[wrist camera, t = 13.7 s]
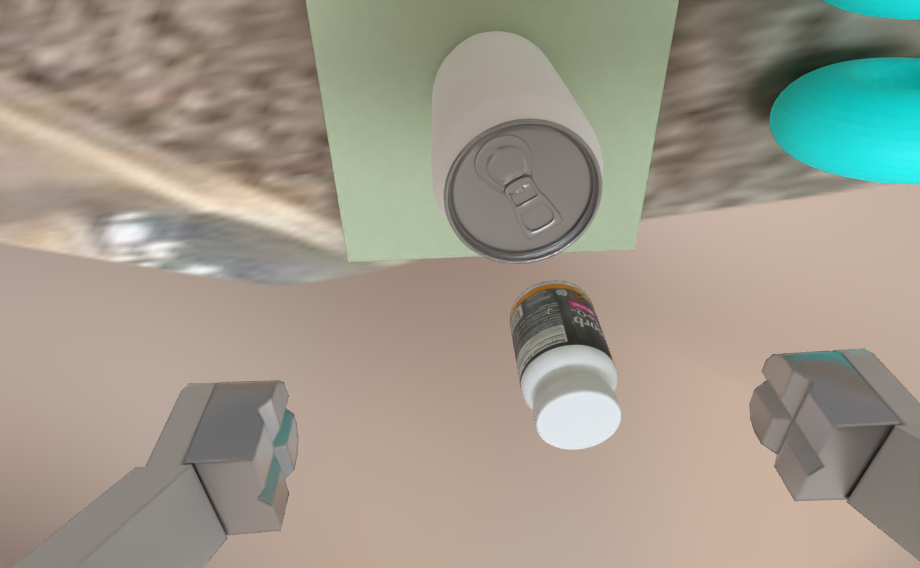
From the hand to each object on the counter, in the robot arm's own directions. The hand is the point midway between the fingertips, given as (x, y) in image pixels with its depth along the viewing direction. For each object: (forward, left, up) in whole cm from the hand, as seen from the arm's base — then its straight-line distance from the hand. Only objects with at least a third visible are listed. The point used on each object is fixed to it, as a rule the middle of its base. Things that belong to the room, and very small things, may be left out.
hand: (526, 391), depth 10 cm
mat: (+2, +2, -24) cm, 24 cm away
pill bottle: (+17, +6, -24) cm, 30 cm away
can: (+2, +2, -23) cm, 24 cm away
